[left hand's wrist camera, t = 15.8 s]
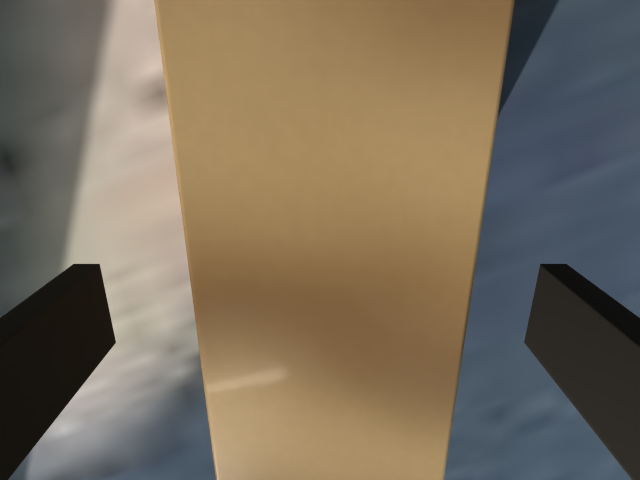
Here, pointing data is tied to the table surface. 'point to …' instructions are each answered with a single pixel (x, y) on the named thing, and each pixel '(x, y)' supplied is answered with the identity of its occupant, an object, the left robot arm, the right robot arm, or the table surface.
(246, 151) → the ash beam
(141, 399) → the table surface
